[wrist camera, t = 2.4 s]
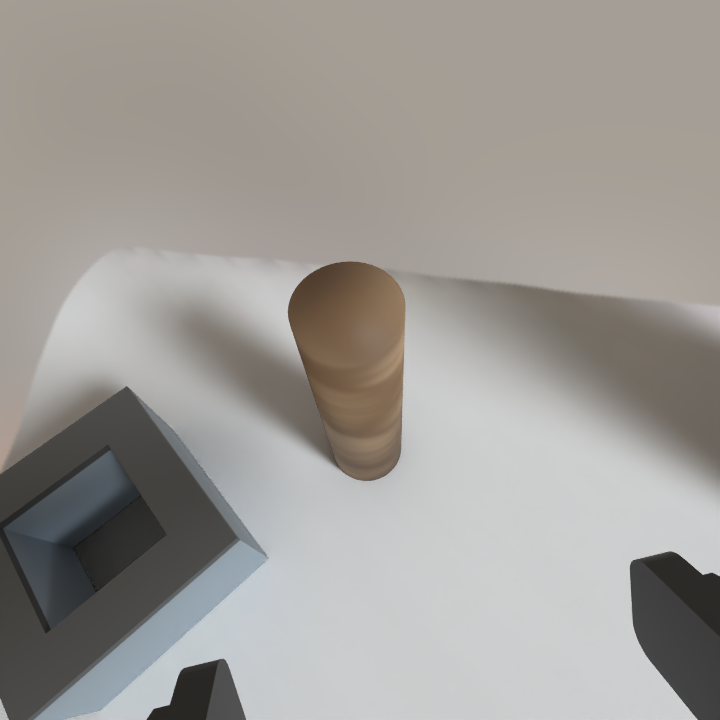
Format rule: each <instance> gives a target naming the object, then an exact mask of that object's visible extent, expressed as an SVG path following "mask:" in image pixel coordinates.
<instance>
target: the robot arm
mask: <svg viewBox="0 0 720 720" xmlns="http://www.w3.org/2000/svg"><path fill="white" fill-rule="evenodd" d="M630 580H631V598H632V616H633V626H634V630H635V633H636V636H637V639H638V641H639V643H640V645H641V647H642V649H643V651H644V653H645V654H646V656H647V657H648V659H649V660H650V661H651V662H652V664H653V665H654V666H655V667H656V669H657V670H658V671H659V672H660V674H661V675H662V676H663V677H664V679H665V680H666V681H667V682H668V683H669V685H670V686H671V687H672V688H673V690H674V691H675V692H676V693H677V695H678V696H679V697H680V698H681V700H682V701H683V702H684V703H685V704H686V706H687V707H688V708H689V709H690V711H691V712H692V713H693V714H694V716H695V717H696V718H697V719H698V720H720V576H718V575H716V574H714V573H709V574H705V575H702V574H701V573H700V572H699V571H697V570H696V569H695V568H694V567H693V566H692V565H690V564H689V563H688V562H687V561H686V560H685V559H683V558H682V557H681V556H680V555H678V554H677V553H675V552H665V553H661V554H657V555H653V556H649V557H645V558H641V559H637V560H633V561H632V562H631V565H630ZM147 720H246V718H245V715H244V712H243V709H242V706H241V703H240V700H239V697H238V694H237V691H236V688H235V684H234V681H233V678H232V675H231V672H230V669H229V667H228V664H227V662H226V661H225V660H224V659H220V660H216V661H211V662H207V663H203V664H199V665H195V666H191V667H187V668H184V669H182V671H181V672H180V674H179V676H178V679H177V683H176V686H175V689H174V693H173V696H172V700H171V703H170V705H168V706H164V707H160V708H156V709H154V710H153V711H152V713H151V714H150V715H149V717H148V718H147Z"/></svg>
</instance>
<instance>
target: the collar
mask: <svg viewBox="0 0 720 720" xmlns="http://www.w3.org/2000/svg"><path fill="white" fill-rule="evenodd" d="M140 495H141V496H142V498H143V499H144V501H145V502H146V504H147V505H148V507H149V508H150V510H151V511H152V513H153V514H154V516H155V517H156V519H157V521H158V522H159V524H160V525H161V527H162V528H163V530H164V531H165V533H166V534H167V535H166V536H164V537H163V538H162V539H161V540H160V541H158V542H157V543H156V544H155V545H153V546H152V547H151V548H150V549H149V550H147V551H146V552H145V553H144V554H143V555H141V556H140V557H139V558H138V559H136V560H135V561H134V562H133V563H132V564H130V565H129V566H128V567H127V568H125V569H124V570H123V571H122V572H121V573H119V574H118V575H117V576H116V577H115V578H113V579H112V580H111V581H110V582H108V583H107V584H106V585H105V586H104V587H102V588H101V589H100V590H99V591H97V592H96V590H95V589H94V587H93V585H92V583H91V581H90V579H89V577H88V576H87V574H86V572H85V570H84V568H83V566H82V565H81V563H80V561H79V559H78V557H77V555H76V553H75V552H74V550H73V548H74V547H75V546H76V545H77V544H79V543H80V542H81V541H83V540H84V539H85V538H86V537H88V536H89V535H90V534H92V533H93V532H94V531H95V530H97V529H98V528H99V527H101V526H102V525H103V524H104V523H106V522H107V521H108V520H110V519H111V518H112V517H113V516H115V515H116V514H117V513H119V512H120V511H121V510H122V509H124V508H125V507H126V506H128V505H129V504H130V503H131V502H133V501H134V500H135V499H136V498H138V497H139V496H140ZM267 559H268V557H267V555H266V554H265V553H264V551H263V550H262V549H261V547H260V546H259V545H258V543H257V542H256V541H255V539H254V538H253V536H252V535H251V534H250V532H249V531H248V530H247V528H246V527H245V526H244V524H243V523H242V522H241V520H240V519H239V518H238V516H237V515H236V514H235V512H234V511H233V510H232V508H231V507H230V506H229V504H228V503H227V502H226V500H225V499H224V498H223V496H222V495H221V493H220V492H219V491H218V489H217V488H216V487H215V485H214V484H213V483H212V481H211V480H210V479H209V477H208V476H207V475H206V473H205V472H204V471H203V469H202V468H201V467H200V465H199V464H198V463H197V461H196V460H195V459H194V457H193V456H192V454H191V453H190V452H189V450H188V449H187V448H186V446H185V445H184V444H183V442H182V441H181V440H180V438H179V437H178V436H177V434H176V433H175V432H174V430H173V429H172V428H171V427H170V426H168V425H167V424H166V423H165V422H164V421H163V420H162V419H161V418H160V417H159V416H158V415H157V414H156V413H155V412H154V411H153V410H152V409H150V408H149V407H148V406H147V405H146V404H145V403H144V402H143V401H142V400H141V399H140V398H139V397H138V396H137V395H136V394H135V393H133V392H132V391H131V390H130V389H129V388H128V387H125V388H124V389H122V390H121V391H119V392H118V393H117V394H115V395H114V396H112V397H111V398H109V399H108V400H107V401H105V402H104V403H102V404H101V405H99V406H98V407H96V408H95V409H94V410H92V411H91V412H89V413H88V414H86V415H85V416H84V417H82V418H81V419H79V420H78V421H76V422H75V423H74V424H72V425H71V426H69V427H68V428H66V429H65V430H64V431H62V432H61V433H59V434H58V435H56V436H55V437H54V438H52V439H51V440H49V441H48V442H46V443H45V444H43V445H42V446H41V447H39V448H38V449H36V450H35V451H33V452H32V453H31V454H29V455H28V456H26V457H25V458H23V459H22V460H21V461H19V462H18V463H16V464H15V465H13V466H12V467H11V468H9V469H8V470H6V471H5V472H3V473H2V474H1V475H0V698H1V701H2V703H3V706H4V708H5V711H6V713H7V716H8V718H9V720H63V719H67V718H71V717H75V716H80V715H84V714H88V713H92V712H96V711H100V710H101V709H102V708H103V707H104V706H106V705H107V704H108V703H109V702H110V701H111V700H112V699H113V698H114V697H116V696H117V695H118V694H119V693H120V692H121V691H122V690H123V689H124V688H126V687H127V686H128V685H129V684H130V683H131V682H132V681H133V680H134V679H135V678H137V677H138V676H139V675H140V674H141V673H142V672H143V671H144V670H145V669H147V668H148V667H149V666H150V665H151V664H152V663H153V662H154V661H155V660H157V659H158V658H159V657H160V656H161V655H162V654H163V653H164V652H165V651H167V650H168V649H169V648H170V647H171V646H172V645H173V644H174V643H175V642H176V641H178V640H179V639H180V638H181V637H182V636H183V635H184V634H185V633H186V632H188V631H189V630H190V629H191V628H192V627H193V626H194V625H195V624H196V623H198V622H199V621H200V620H201V619H202V618H203V617H204V616H205V615H206V614H208V613H209V612H210V611H211V610H212V609H213V608H214V607H215V606H216V605H217V604H219V603H220V602H221V601H222V600H223V599H224V598H225V597H226V596H227V595H229V594H230V593H231V592H232V591H233V590H234V589H235V588H236V587H237V586H239V585H240V584H241V583H242V582H243V581H244V580H245V579H246V578H247V577H248V576H250V575H251V574H252V573H253V572H254V571H255V570H256V569H257V568H258V567H260V566H261V565H262V564H263V563H264V562H265V561H266V560H267Z"/></svg>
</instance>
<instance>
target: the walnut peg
mask: <svg viewBox="0 0 720 720" xmlns="http://www.w3.org/2000/svg"><path fill="white" fill-rule="evenodd" d="M288 318H289V322H290V326H291V329H292V332H293V335H294V338H295V341H296V344H297V347H298V350H299V353H300V356H301V359H302V362H303V365H304V368H305V371H306V374H307V377H308V380H309V383H310V386H311V389H312V392H313V395H314V398H315V401H316V404H317V407H318V410H319V413H320V416H321V419H322V422H323V425H324V428H325V431H326V434H327V437H328V440H329V443H330V446H331V449H332V452H333V455H334V458H335V460H336V463H337V464H338V466H339V467H340V469H341V470H342V471H343V472H344V473H345V474H347V475H348V476H350V477H352V478H354V479H357V480H363V481H371V480H376V479H379V478H381V477H383V476H385V475H387V474H388V473H389V472H390V471H391V470H392V469H393V468H394V467H395V466H396V464H397V462H398V460H399V457H400V453H401V431H402V398H403V365H404V333H405V300H404V295H403V293H402V290H401V288H400V287H399V285H398V283H397V282H396V281H395V280H394V279H393V278H392V277H391V276H390V275H389V274H388V273H386V272H385V271H383V270H381V269H379V268H378V267H375V266H372V265H369V264H366V263H360V262H340V263H334V264H331V265H327V266H325V267H322V268H320V269H318V270H316V271H314V272H313V273H311V274H309V275H308V276H307V277H306V278H304V279H303V280H302V281H301V282H300V284H299V285H298V286H297V287H296V289H295V291H294V292H293V294H292V296H291V299H290V302H289V307H288Z"/></svg>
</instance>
